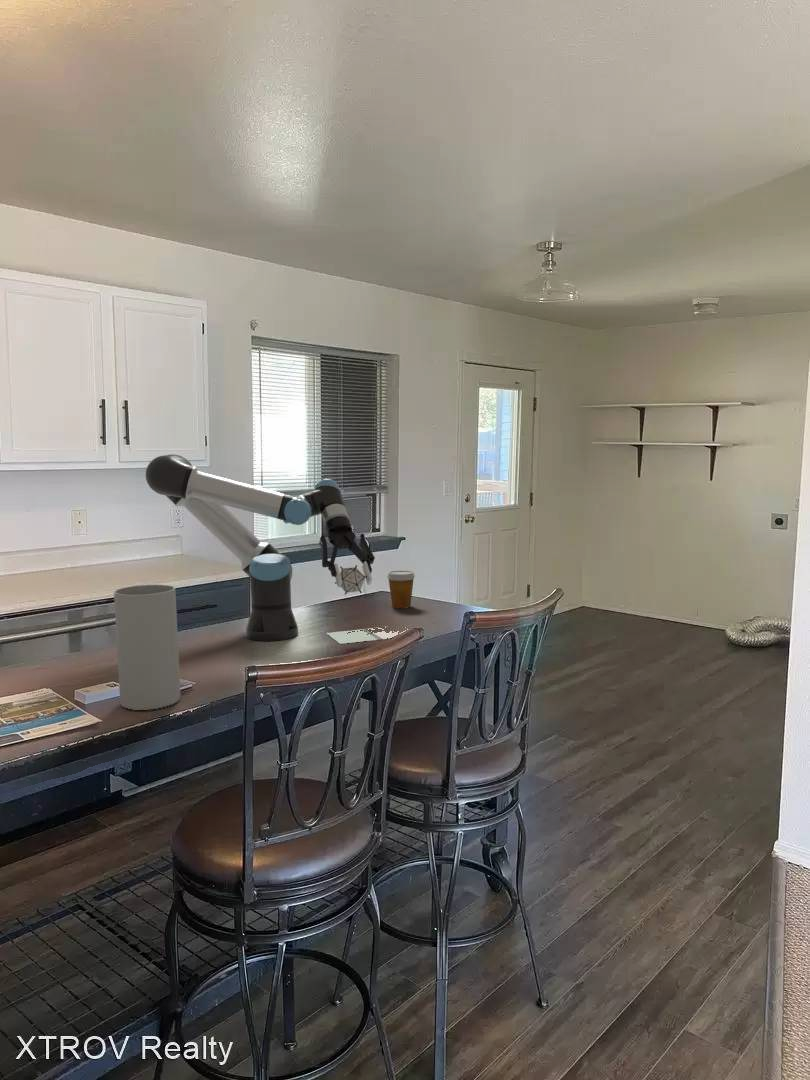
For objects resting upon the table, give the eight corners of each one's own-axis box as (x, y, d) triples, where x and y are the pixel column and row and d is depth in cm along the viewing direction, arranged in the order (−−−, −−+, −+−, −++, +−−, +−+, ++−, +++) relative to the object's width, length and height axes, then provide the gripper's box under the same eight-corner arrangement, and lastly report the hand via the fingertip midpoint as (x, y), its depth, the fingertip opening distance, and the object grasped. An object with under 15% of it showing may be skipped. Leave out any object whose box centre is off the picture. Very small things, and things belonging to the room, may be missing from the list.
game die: (356, 606, 226) (365, 582, 220) (329, 596, 226) (336, 572, 219) (364, 587, 233) (372, 563, 227) (337, 577, 233) (345, 553, 226)
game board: (340, 644, 219) (340, 643, 219) (325, 633, 232) (325, 633, 232) (418, 635, 228) (418, 635, 228) (400, 625, 241) (400, 625, 241)
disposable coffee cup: (419, 605, 272) (419, 571, 270) (407, 610, 263) (406, 575, 262) (395, 603, 276) (395, 569, 275) (382, 608, 268) (382, 573, 266)
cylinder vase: (191, 701, 171) (186, 588, 168) (139, 716, 162) (133, 597, 159) (161, 690, 179) (155, 582, 176) (109, 703, 170) (103, 590, 167)
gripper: (367, 528, 243) (386, 588, 230) (301, 532, 235) (317, 594, 222) (372, 513, 237) (392, 572, 224) (305, 516, 229) (322, 578, 217)
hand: (355, 583), depth 223 cm, fingers closed on game die, 8 cm apart
